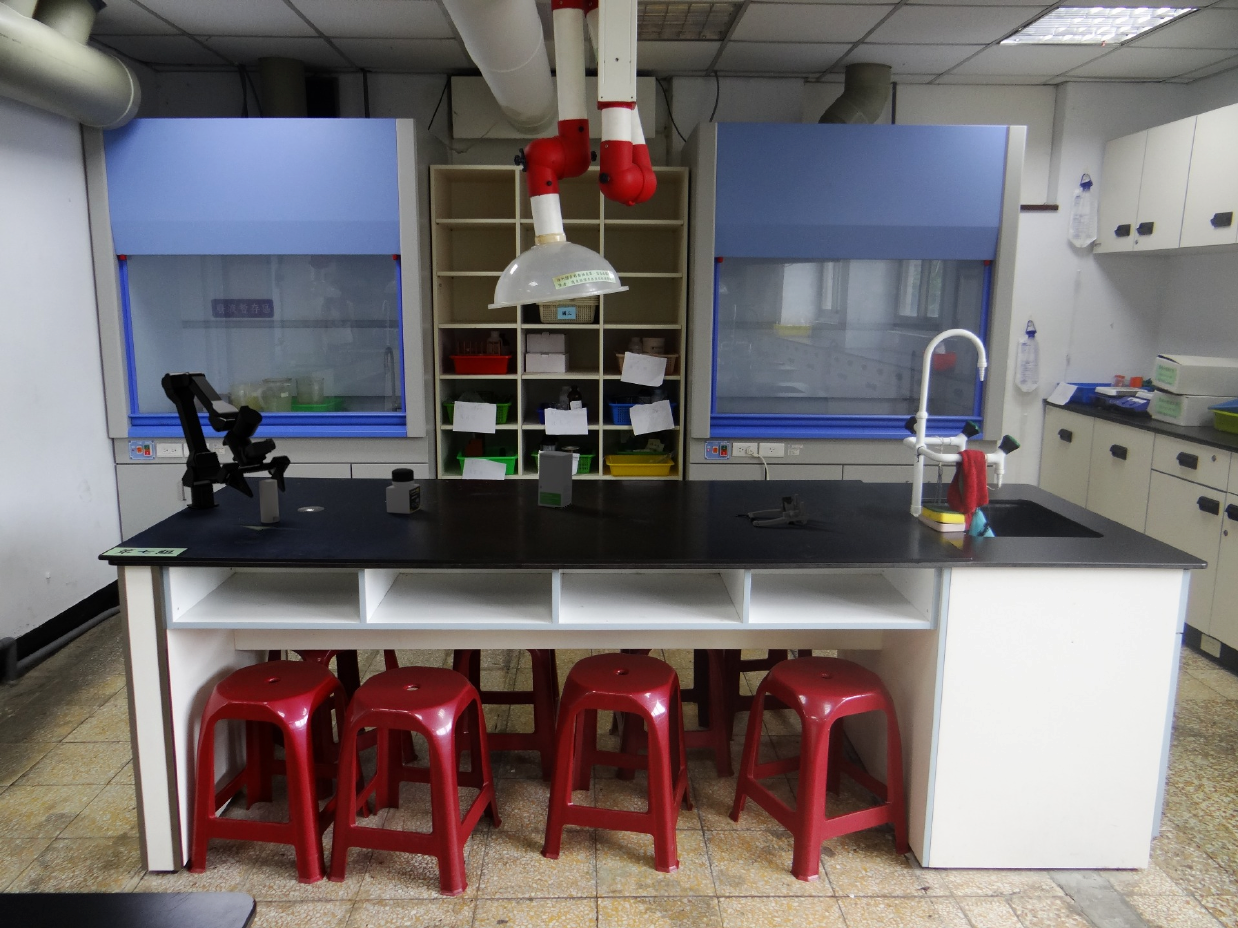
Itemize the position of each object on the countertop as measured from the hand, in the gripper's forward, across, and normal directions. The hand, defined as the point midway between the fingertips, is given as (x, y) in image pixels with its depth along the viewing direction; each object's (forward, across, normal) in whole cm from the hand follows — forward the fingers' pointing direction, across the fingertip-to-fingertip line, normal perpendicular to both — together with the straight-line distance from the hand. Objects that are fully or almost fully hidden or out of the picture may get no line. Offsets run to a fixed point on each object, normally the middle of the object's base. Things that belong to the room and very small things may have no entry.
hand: (268, 494), depth 230 cm
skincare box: (+37, +64, -26) cm, 78 cm away
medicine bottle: (+17, +32, -6) cm, 36 cm away
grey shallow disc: (+3, +15, +8) cm, 17 cm away
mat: (+4, -1, +7) cm, 8 cm away
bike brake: (+79, +83, -68) cm, 133 cm away
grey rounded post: (+5, 0, +5) cm, 7 cm away
